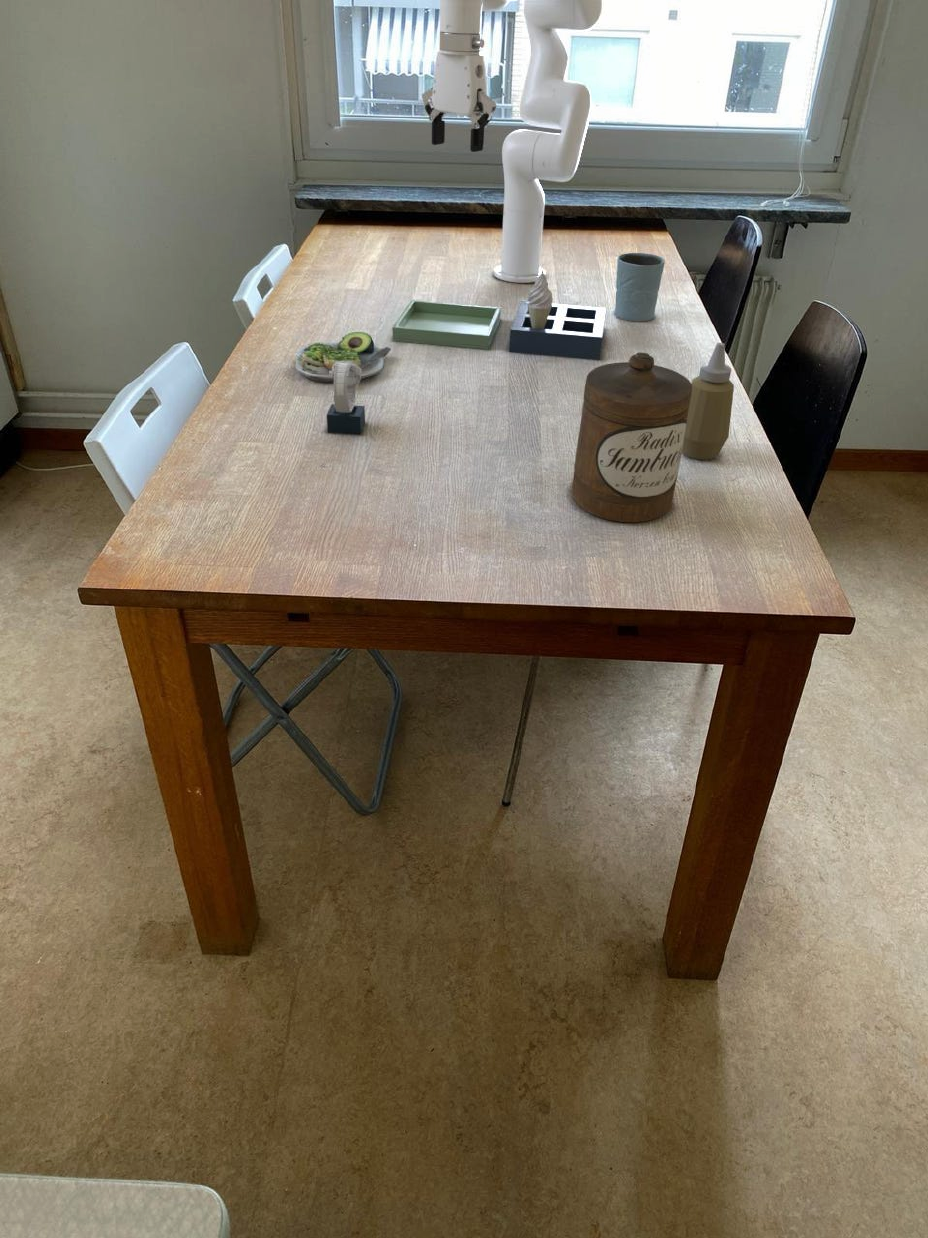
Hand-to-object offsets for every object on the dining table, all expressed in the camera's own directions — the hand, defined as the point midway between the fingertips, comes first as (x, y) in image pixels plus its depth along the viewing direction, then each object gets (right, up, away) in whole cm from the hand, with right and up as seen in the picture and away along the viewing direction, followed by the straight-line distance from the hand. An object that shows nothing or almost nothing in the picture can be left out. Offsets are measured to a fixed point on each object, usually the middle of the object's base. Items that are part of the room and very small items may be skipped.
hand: (457, 147), depth 179 cm
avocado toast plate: (-22, -44, -5) cm, 49 cm away
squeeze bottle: (+40, -65, -30) cm, 82 cm away
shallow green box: (-2, -32, +12) cm, 34 cm away
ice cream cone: (+16, -37, +7) cm, 41 cm away
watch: (-18, -60, -26) cm, 68 cm away
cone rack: (+21, -35, +10) cm, 42 cm away
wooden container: (+25, -74, -43) cm, 89 cm away
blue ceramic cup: (+39, -25, +24) cm, 52 cm away
